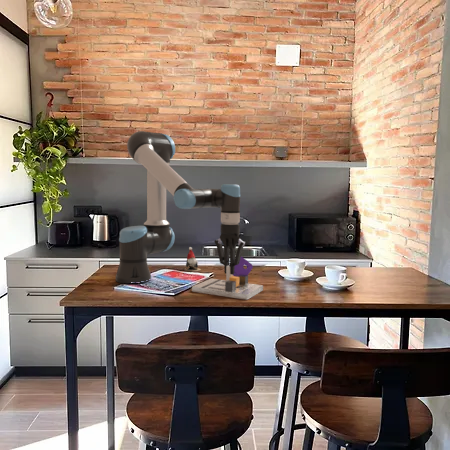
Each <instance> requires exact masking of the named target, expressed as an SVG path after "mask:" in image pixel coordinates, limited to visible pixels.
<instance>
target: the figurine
mask: <svg viewBox="0 0 450 450" xmlns="http://www.w3.org/2000/svg"><path fill="white" fill-rule="evenodd" d="M188 251H189V252H188V253H187V256H186V263H185V266H186V268H188V269H187V270H184V271H186V272H200V271H201V270H202V269H201V268H199V267H198V266H199V261H198V259H197V258H196V256H195V253H194V251H193V247H191V246H189V247H188Z"/></svg>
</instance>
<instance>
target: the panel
mask: <svg viewBox="0 0 450 450" xmlns="http://www.w3.org/2000/svg"><path fill="white" fill-rule="evenodd" d="M262 291H264V285H261V284H255V283H249V274H248V275H239V286H237V287H236V281H227V282H226V279H217V278H208V279H206V280H204V281H202V282H199V283H197V284H195V285H193V286H192V287H191V292H193V293H200V294H207V295H208V294H209V295H212V296H220V297H226V298H234V299H238V300H239V299H240V300H247V301H248V300H249V299H251V298H253V297H255V296H256V295H257V294H259V293H261V292H262Z"/></svg>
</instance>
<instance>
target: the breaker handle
mask: <svg viewBox="0 0 450 450" xmlns="http://www.w3.org/2000/svg"><path fill="white" fill-rule="evenodd" d="M229 281H236V287H237V286H239V277H236V276H232V277H230V278H229Z"/></svg>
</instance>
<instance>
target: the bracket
mask: <svg viewBox="0 0 450 450" xmlns="http://www.w3.org/2000/svg"><path fill="white" fill-rule="evenodd" d="M244 266H246V268H244ZM252 270H253V264H252V263H251V262H250V261H248V260H247V259H245V258H244V257H243V256H241V258H240V262H239V264H238V265H235V272H234V274H233V276H236V277H239V275H248V276H249V274H250V273H251V271H252Z"/></svg>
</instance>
